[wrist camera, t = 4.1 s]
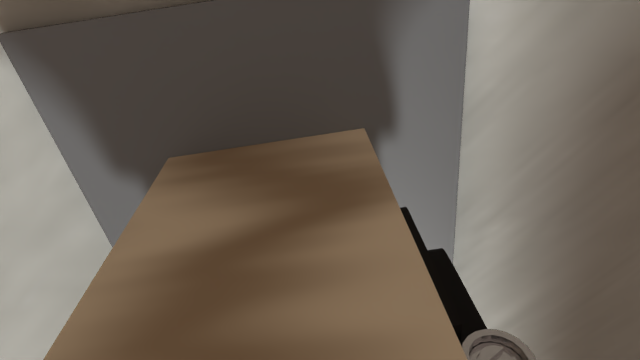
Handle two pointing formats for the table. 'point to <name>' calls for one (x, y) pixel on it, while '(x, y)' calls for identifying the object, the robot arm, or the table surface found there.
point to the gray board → (254, 92)
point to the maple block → (265, 264)
